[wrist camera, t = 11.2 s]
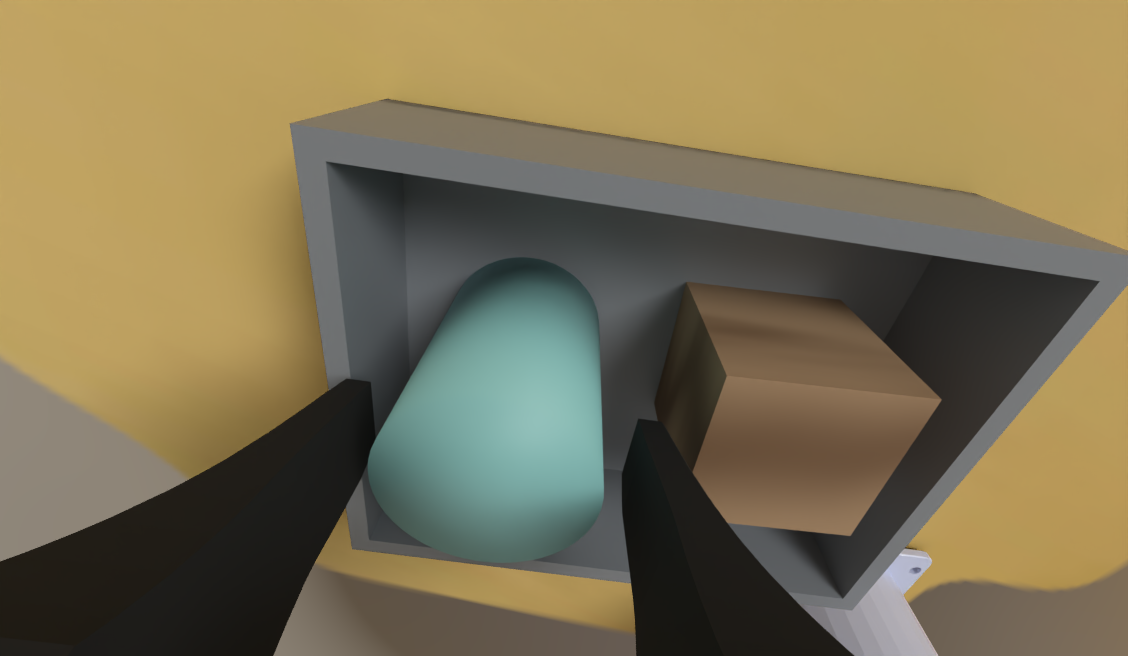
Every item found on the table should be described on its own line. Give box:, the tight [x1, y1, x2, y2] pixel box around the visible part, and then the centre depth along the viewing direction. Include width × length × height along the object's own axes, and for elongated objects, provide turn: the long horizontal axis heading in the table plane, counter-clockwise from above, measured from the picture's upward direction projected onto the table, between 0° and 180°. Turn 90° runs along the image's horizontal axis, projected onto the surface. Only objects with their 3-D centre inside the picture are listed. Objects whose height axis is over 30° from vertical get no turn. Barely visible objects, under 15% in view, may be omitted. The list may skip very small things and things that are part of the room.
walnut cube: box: [654, 282, 942, 536], centre depth 14 cm, size 5×5×5 cm
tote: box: [290, 99, 1128, 610], centre depth 15 cm, size 13×17×5 cm
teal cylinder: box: [368, 257, 604, 563], centre depth 13 cm, size 5×5×7 cm
